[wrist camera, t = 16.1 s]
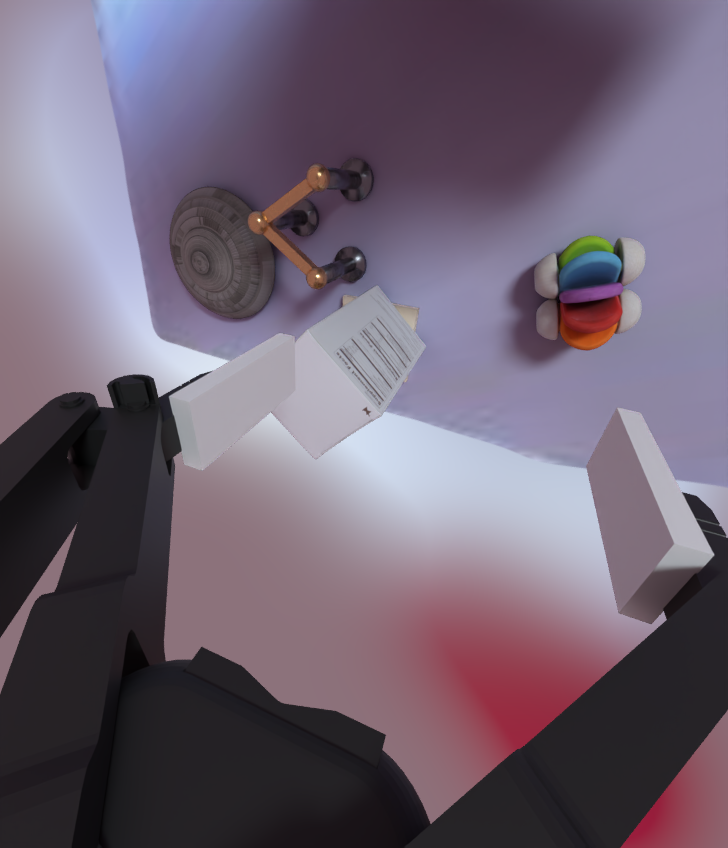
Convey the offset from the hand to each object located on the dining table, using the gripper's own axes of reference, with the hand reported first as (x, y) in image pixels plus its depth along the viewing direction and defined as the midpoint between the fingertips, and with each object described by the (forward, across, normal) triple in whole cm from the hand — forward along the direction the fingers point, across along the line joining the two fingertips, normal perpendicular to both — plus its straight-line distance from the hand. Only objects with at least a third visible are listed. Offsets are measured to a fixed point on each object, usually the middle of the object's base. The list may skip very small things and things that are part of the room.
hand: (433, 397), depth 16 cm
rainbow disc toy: (+29, +9, 0) cm, 30 cm away
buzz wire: (+29, -18, +3) cm, 34 cm away
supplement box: (+28, -11, -9) cm, 31 cm away
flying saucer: (+29, -32, -2) cm, 43 cm away
